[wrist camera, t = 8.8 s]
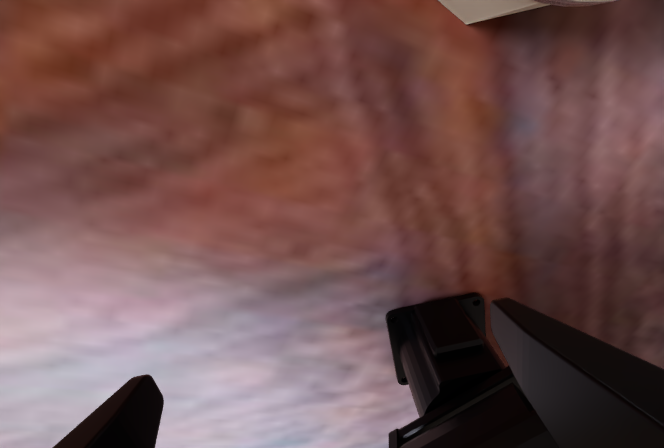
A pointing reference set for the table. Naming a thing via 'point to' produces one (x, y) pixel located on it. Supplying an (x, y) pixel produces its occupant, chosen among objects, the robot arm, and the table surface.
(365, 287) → the table surface
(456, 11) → the cooker pot
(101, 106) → the table surface
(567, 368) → the robot arm
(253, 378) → the table surface
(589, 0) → the cooker lid
